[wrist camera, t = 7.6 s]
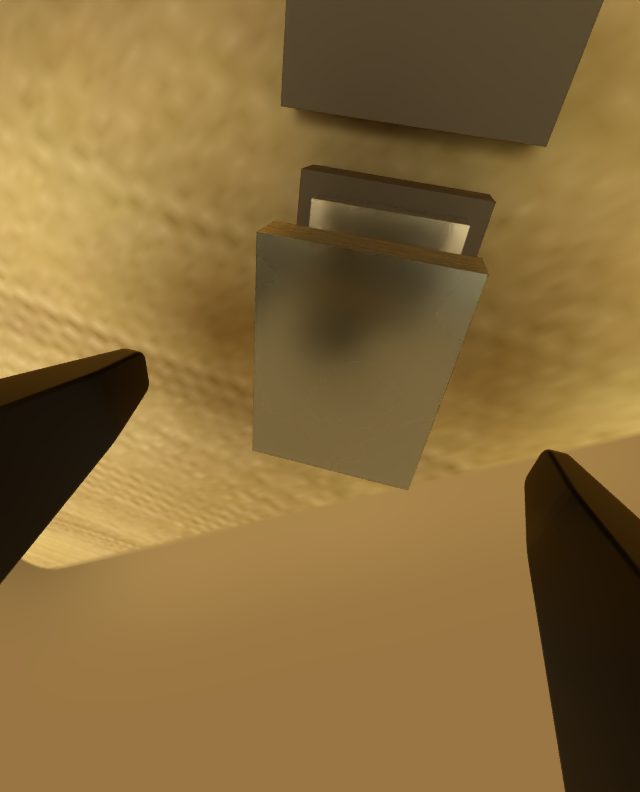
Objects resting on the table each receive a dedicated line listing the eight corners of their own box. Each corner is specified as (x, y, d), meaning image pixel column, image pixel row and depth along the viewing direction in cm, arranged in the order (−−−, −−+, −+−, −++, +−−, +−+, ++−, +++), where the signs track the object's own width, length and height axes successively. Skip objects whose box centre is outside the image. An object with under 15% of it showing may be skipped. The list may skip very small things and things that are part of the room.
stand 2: (313, 165, 13) (301, 168, 12) (489, 195, 12) (495, 202, 11) (294, 353, 17) (284, 370, 16) (425, 383, 17) (424, 403, 16)
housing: (467, 218, 12) (488, 274, 7) (415, 384, 15) (408, 490, 11) (320, 193, 12) (256, 231, 8) (302, 359, 16) (252, 450, 11)
